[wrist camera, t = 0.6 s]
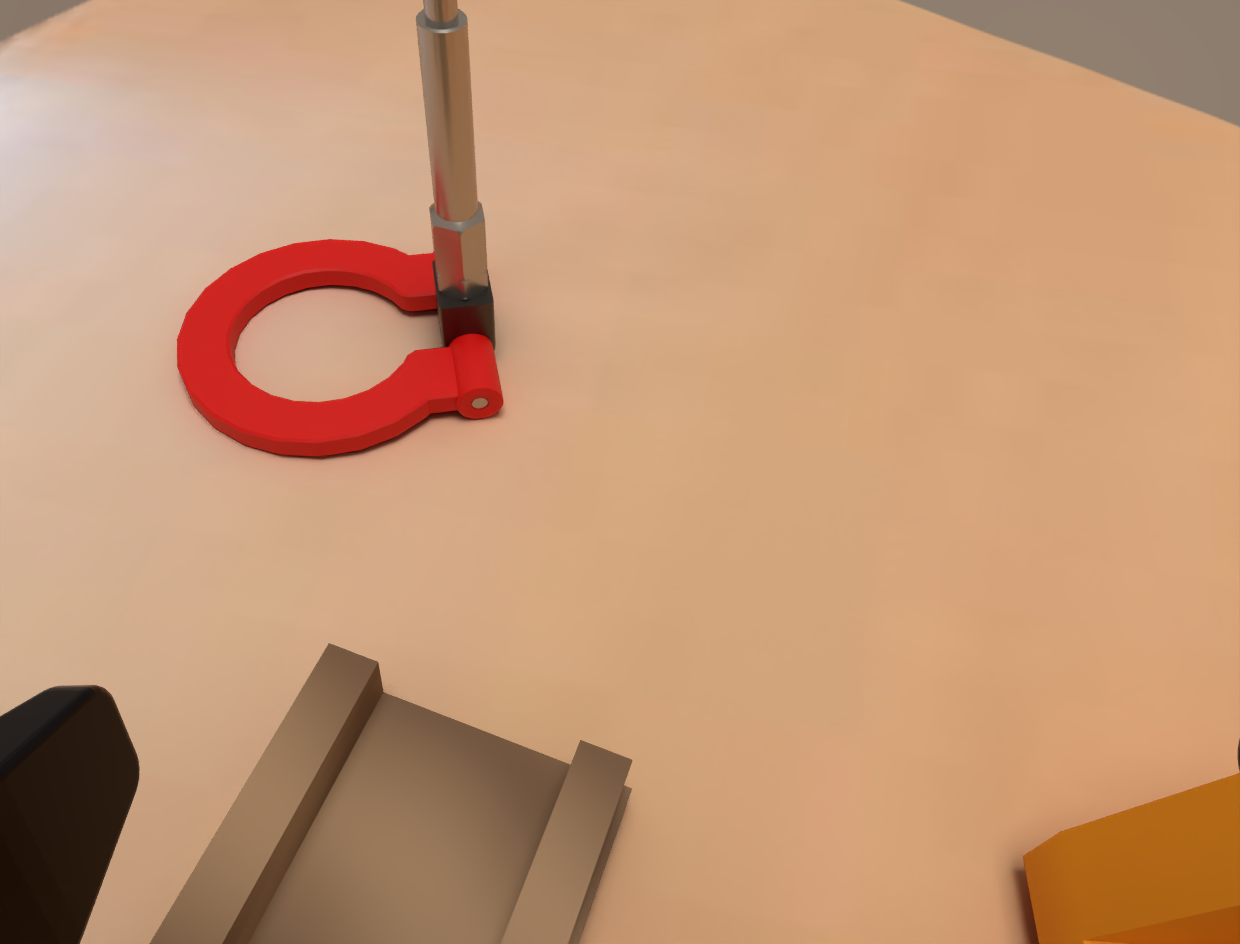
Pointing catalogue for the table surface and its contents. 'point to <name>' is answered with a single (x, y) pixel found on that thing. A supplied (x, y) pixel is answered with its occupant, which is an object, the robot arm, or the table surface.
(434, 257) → the tow hook
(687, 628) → the table surface
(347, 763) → the rail
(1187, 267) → the table surface
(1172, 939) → the bracket
